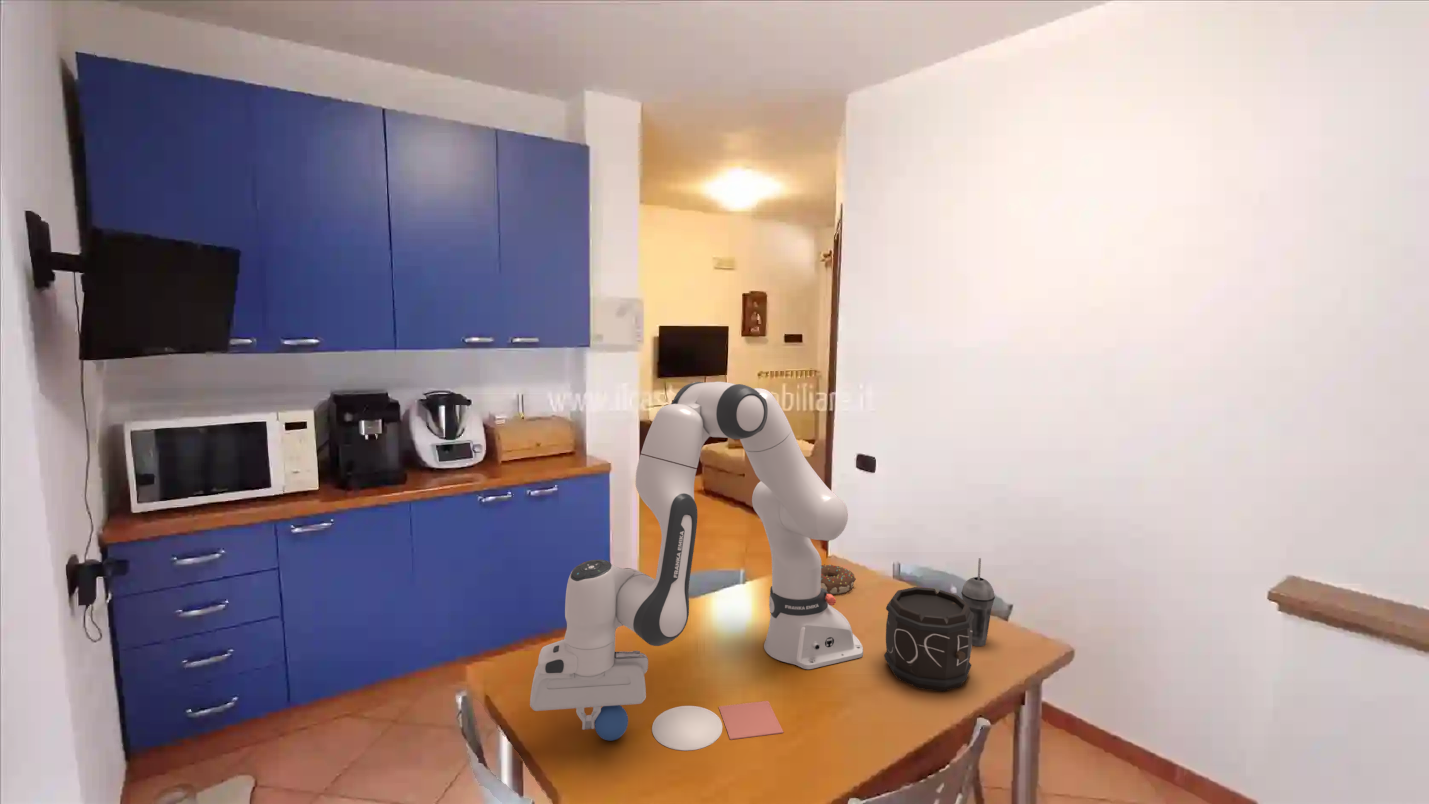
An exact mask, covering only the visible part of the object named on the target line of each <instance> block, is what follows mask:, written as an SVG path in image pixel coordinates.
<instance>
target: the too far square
mask: <svg viewBox="0 0 1429 804" xmlns="http://www.w3.org/2000/svg"><path fill="white" fill-rule="evenodd" d="M718 709H719V711H720V714H721V718H722V720H723V723H724V726H725V728H726V733H727V735H728V738H729V740H731V741H732V740H740V739H746V738H755V737H762V736H770V735H778V734H784V730H783V728H782V726H781V724H780V722H779V720H778V718H777V716H776V714H775V712H774V710H773V707H772V706H771V703H770V702H769V700H764V701H763V700H762V701H755V702H746V703H744V702H743V703H737V704H729V705H720V706H718Z"/></svg>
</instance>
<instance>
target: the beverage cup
mask: <svg viewBox="0 0 1429 804" xmlns="http://www.w3.org/2000/svg"><path fill="white" fill-rule="evenodd" d="M981 562H982V558H981V557H980V558H978V564H977V565H978V566H977V576H975V577H973V576H972V577H971V578H969V579H967V580H966V581H965V583H964V585H963V586H962V590H961V597H962V598H961V599H962V600H963V601H964V602H966V603H967V604H968V605H969V607H970V611H971V612H973V614H974V618H973V621H972V646H975V647H983V646H986V644H987V638H988V634H989V628H990V627H989V626H990V621H991V616H992V615H991V613H992V608H993V605H994V602H995V601H994V600H995V598H996V597H995V591H994V589H993V586H992V584H991V583H990V582H989V581H988V580H987V579H985V578H982V577H981V570H982V569H981V565H982V563H981Z"/></svg>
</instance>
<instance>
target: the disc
mask: <svg viewBox="0 0 1429 804" xmlns="http://www.w3.org/2000/svg"><path fill="white" fill-rule="evenodd" d="M651 732H652V734H653V737H654V739H655V740H656V741H657V742H658V743H659V744H660V745H662V746H664V747H666V748H668V749H671V750H676V751H681V752H682V751H684V752H685V751H686V752H687V751H688V752H689V751H696V750H697V751H698V750H701V749H704V748H706V747H709V746H710V745H712V744H714V743H715V742H716V741H717V740H718V739H719V738H720V737H721V735H722V733H723V722H722V720H721V718H720V717H719V715H717V714H716V713H715V712H713V711H711V710H710V709H707V708H705V707H701V706H695V705H681V706H675V707H673V708H669V709H667V710H665V711H662V713H660V714H659V715H658V716H657V717H656V718H655V719H654V721H653V723H652V727H651Z"/></svg>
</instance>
